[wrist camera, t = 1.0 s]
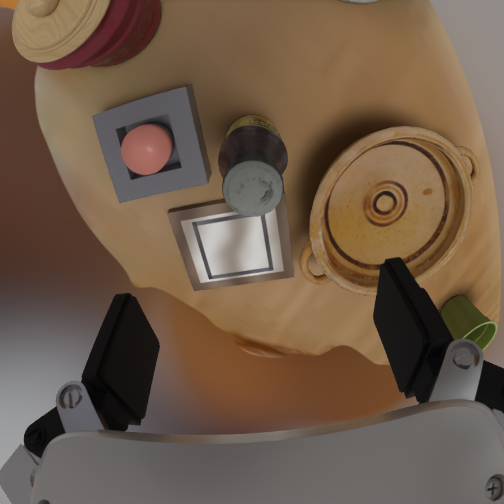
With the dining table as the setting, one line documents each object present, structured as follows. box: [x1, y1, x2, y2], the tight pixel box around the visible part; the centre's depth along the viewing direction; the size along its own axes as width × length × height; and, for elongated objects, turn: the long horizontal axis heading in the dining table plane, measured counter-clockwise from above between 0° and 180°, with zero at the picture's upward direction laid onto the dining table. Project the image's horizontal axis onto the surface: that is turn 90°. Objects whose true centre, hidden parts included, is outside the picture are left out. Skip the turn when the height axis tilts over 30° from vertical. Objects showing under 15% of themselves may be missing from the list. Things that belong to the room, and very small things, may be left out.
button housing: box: [92, 85, 211, 203], centre depth 34 cm, size 12×12×4 cm
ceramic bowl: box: [299, 126, 479, 296], centre depth 38 cm, size 30×24×8 cm
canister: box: [12, 0, 161, 70], centre depth 19 cm, size 13×13×18 cm
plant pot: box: [441, 295, 497, 351], centre depth 50 cm, size 12×12×11 cm
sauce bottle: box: [218, 115, 288, 217], centre depth 28 cm, size 6×6×20 cm
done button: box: [121, 122, 174, 175], centre depth 33 cm, size 6×6×3 cm
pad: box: [168, 190, 294, 291], centre depth 44 cm, size 16×14×1 cm
